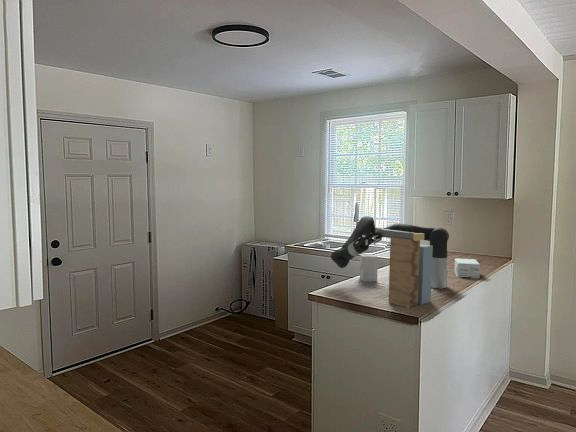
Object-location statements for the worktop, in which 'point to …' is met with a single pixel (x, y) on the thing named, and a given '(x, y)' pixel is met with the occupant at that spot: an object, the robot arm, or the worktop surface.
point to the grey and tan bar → (402, 234)
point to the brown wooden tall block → (404, 271)
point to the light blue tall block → (425, 274)
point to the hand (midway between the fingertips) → (378, 234)
